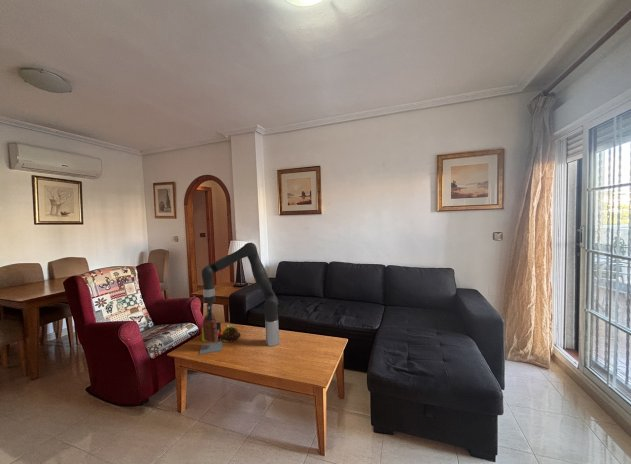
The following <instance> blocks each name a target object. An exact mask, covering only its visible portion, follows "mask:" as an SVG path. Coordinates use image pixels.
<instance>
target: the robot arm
mask: <svg viewBox="0 0 631 464" xmlns="http://www.w3.org/2000/svg"><path fill="white" fill-rule="evenodd" d="M244 258H247V259H248V262H249V264H250V269H251V272H252V275H253V279H254V281H255V283H256V285H257V287H258V288H259V289H260V290H261V292H262V294H263V297H264V303H263V315H264V321H265V322H264V324H265V325H264V327H265V345H266V346H268V347H274V346H278V345H279V344H280V343H281V342H280V330H279V315H278V305H279V299H278V297H277V295H276V293H275V291H274V290H273V288H272V284H271V281H270V278H269V276H268V273H267V270H266V269H265V267H264V264H263V263H262V261H261V258H260V256H259V253H258V247H257V245H256V244H255V243H253V242H247V243H245V244H244V245H243V246H242V247H240V248H239V249H238V250H236V251H234V252H232V253H230V254H228V255H226V256H224V257H221V258H220V259H218V260H216V261H214V262H213V263H210V264H209V265H206V266H205V267H204V268H202V270H201V278H202V282H203V285H202V288H203V290H202V291H203V292H202V296H203V297H202V298H203V303H204V304H206V313H207V314H206V315H208V321H211V320H212V314H213V308H214V304H213V303H215V302H216V290H215V281H214V274H215V273H217V272H219V271H223V270H224V269H226V268H228V267H230V266H231V265H232V264H235V263H236V262H238V261H240V260H242V259H244Z"/></svg>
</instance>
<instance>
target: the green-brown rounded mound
mask: <svg viewBox="0 0 631 464" xmlns="http://www.w3.org/2000/svg"><path fill="white" fill-rule="evenodd" d="M225 327H226V328H225V329H224V330H223V332H222V334H221V335H220V336H219V338H218V339H217V340H218V342H221V341H222V343H223V342H224V343H229V342H233V341H237V340H238V339H239V338H240V337H241V332H240V331H239V330H238V328H237V327H235V326H233V324H227V325H226V326H225Z"/></svg>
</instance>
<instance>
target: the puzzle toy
mask: <svg viewBox="0 0 631 464" xmlns="http://www.w3.org/2000/svg"><path fill="white" fill-rule="evenodd" d="M215 324H217V340H219V339H218V338H219V336H221V335H222V330H221V329H222V327H221V325H222V324H221V322H215ZM201 339H202V342H208V341H207V340H205V339H204V333H203V327H202V328H201Z"/></svg>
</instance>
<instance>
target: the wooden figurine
mask: <svg viewBox="0 0 631 464" xmlns="http://www.w3.org/2000/svg"><path fill="white" fill-rule="evenodd" d="M216 321H217V318H216V315H215V314H214V313H212V320H211V321H208V315H207V314H206V315H205V316H204V318H203V321H202V326H203V327H202V328H203V333H204V339H205V340H207V341H206V342H210V343H215V342H217V341H218V339H217V324H215V323H217V322H216Z"/></svg>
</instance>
